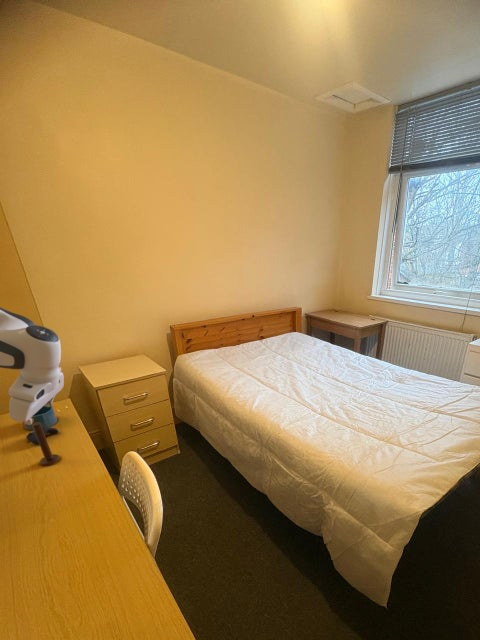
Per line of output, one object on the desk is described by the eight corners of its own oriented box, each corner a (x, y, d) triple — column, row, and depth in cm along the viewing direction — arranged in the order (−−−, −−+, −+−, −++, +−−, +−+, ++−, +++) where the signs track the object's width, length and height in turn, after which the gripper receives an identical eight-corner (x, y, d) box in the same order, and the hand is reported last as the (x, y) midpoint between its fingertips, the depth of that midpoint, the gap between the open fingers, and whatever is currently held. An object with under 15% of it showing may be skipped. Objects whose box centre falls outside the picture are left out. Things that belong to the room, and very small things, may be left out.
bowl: (21, 432, 125) (16, 419, 122) (27, 419, 134) (22, 407, 131) (55, 426, 130) (50, 413, 127) (59, 414, 138) (54, 402, 135)
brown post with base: (39, 467, 107) (24, 429, 100) (42, 458, 111) (27, 421, 104) (58, 463, 109) (44, 425, 102) (60, 455, 113) (47, 418, 107)
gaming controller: (39, 444, 117) (24, 433, 116) (33, 451, 119) (19, 440, 118) (60, 430, 126) (47, 420, 124) (55, 437, 128) (42, 427, 126)
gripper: (49, 359, 102) (47, 393, 108) (3, 393, 85) (4, 431, 91) (71, 366, 104) (68, 399, 110) (30, 401, 87) (29, 437, 93)
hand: (38, 414), depth 101 cm, fingers open, 8 cm apart
